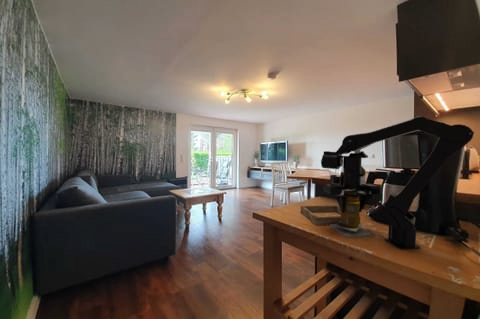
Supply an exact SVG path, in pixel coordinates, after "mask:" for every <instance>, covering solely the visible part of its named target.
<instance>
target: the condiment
mask: <svg viewBox="0 0 480 319" xmlns="http://www.w3.org/2000/svg"><path fill="white" fill-rule="evenodd" d="M344 195H346V204H345V211H344V213H342V212H341V215H340V216H341V221H340V222H338V223H336V224H335V226H337V227H341V228H344V229H348V230H351V231H357V230H358V229H359V228H360V227H361V228H362V226H363V225H364V224H361V223H360V224H359V216H360V213H361V212H360V202H359V194H357V193H353V192H344Z"/></svg>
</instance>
